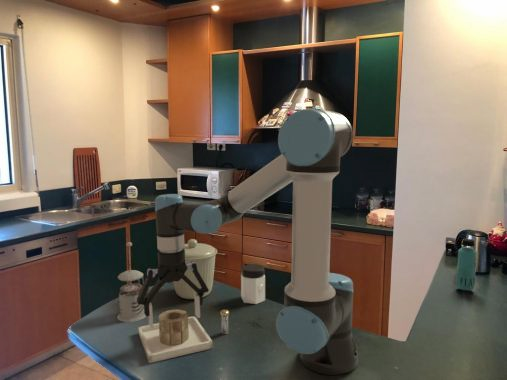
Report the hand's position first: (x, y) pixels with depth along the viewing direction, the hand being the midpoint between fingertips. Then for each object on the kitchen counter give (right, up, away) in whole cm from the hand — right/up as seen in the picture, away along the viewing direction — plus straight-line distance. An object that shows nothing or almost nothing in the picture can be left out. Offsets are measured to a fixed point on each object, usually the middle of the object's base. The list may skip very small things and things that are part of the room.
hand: (174, 321), depth 117 cm
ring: (0, -5, +1) cm, 6 cm away
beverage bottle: (+103, -1, +37) cm, 109 cm away
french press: (-17, -4, +19) cm, 26 cm away
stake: (+14, -5, +5) cm, 16 cm away
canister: (0, -1, +35) cm, 35 cm away
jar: (+23, -2, +30) cm, 38 cm away
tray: (0, -6, +1) cm, 6 cm away
